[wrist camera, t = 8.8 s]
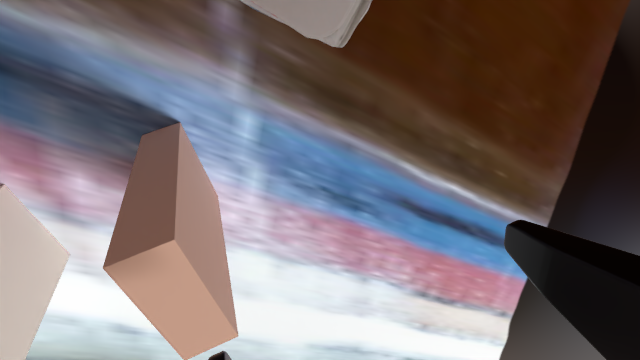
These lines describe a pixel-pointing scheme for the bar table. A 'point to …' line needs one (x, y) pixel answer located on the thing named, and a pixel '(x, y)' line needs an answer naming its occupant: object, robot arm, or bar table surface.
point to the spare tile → (173, 246)
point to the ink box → (316, 17)
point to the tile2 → (24, 275)
